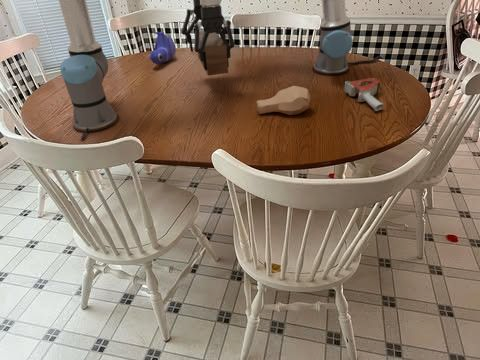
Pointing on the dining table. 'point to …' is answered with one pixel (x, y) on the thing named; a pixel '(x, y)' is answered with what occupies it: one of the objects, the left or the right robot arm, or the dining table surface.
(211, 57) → the box
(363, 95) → the tape dispenser
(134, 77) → the dining table surface
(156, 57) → the toy
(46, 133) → the dining table surface
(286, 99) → the squash
